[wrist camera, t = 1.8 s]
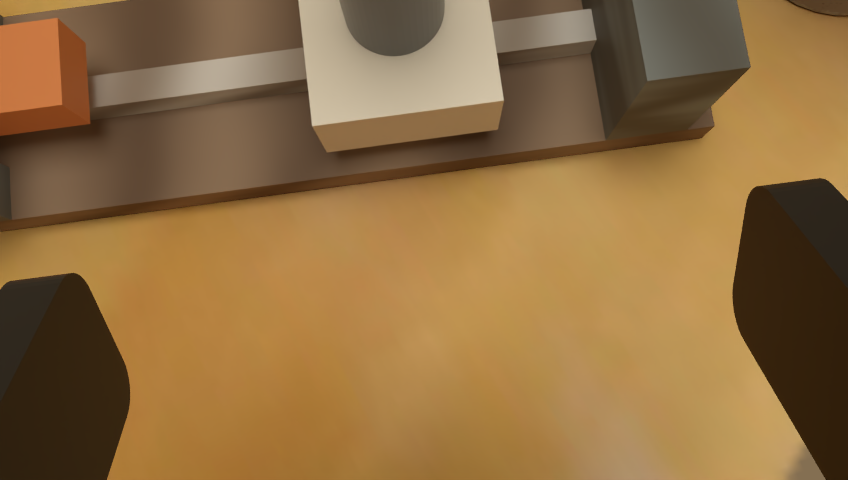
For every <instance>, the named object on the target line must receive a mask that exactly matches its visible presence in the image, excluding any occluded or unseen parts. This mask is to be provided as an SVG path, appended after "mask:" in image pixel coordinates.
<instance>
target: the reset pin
mask: <svg viewBox="0 0 848 480" xmlns="http://www.w3.org/2000/svg"><path fill="white" fill-rule="evenodd" d="M86 124H90V108H89V92H88V76H87V59H86V43H85V42H84V41H83V40H82V39H81V38H79V37H78V36H77V35H76V34H75V33H74V32H73V31H72V30H70V29H69V28H68V27H67V26H66V25H65V24H64V23H63V22H62V21H60V20H59V19H58V18H53V19H45V20H38V21H31V22H23V23H16V24H9V25H1V26H0V136H4V135H11V134H19V133H26V132H34V131H41V130H48V129H56V128H63V127H71V126H78V125H86Z"/></svg>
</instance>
